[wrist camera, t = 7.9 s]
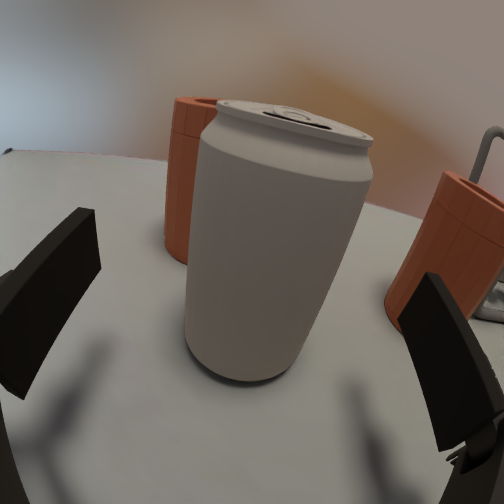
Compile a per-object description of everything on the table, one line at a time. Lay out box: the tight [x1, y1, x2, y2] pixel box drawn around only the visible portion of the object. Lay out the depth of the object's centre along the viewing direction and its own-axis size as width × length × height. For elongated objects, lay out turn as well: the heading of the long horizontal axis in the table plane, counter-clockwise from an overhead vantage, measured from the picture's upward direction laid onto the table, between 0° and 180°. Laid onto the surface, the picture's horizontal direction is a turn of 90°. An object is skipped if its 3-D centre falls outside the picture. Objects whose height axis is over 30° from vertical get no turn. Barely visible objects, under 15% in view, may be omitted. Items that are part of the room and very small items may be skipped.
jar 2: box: [385, 170, 504, 333], centre depth 17 cm, size 7×7×11 cm
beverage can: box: [185, 100, 373, 381], centre depth 13 cm, size 6×6×12 cm
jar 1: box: [164, 97, 226, 264], centre depth 20 cm, size 7×7×11 cm
